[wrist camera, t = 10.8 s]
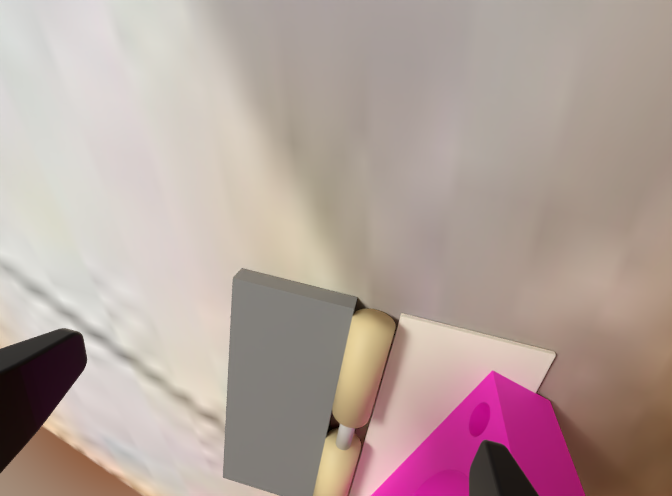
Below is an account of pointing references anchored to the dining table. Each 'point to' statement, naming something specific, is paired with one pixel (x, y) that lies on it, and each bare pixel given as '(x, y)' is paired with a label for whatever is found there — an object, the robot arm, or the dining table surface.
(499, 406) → the toy block
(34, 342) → the robot arm
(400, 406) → the leaf pad
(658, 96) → the dining table surface
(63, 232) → the dining table surface
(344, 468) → the hinge leaf
